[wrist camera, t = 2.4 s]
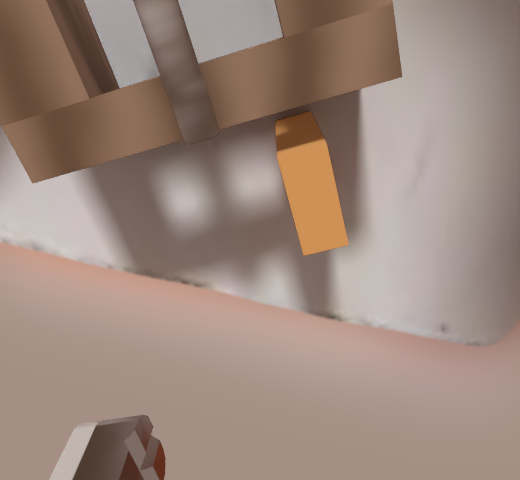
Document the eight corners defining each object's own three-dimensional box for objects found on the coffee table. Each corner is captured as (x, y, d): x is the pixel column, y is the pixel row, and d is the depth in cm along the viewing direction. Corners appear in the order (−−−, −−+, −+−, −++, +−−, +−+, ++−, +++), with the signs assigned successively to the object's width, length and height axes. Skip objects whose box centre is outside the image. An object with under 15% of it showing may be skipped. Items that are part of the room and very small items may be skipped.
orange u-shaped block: (275, 120, 35) (277, 157, 25) (310, 110, 35) (327, 144, 25) (294, 195, 38) (303, 255, 28) (327, 186, 38) (348, 245, 27)
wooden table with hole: (321, -166, 27) (364, -335, 15) (359, 61, 33) (413, 80, 20) (19, -52, 30) (-160, -109, 18) (103, 137, 36) (14, 195, 24)
